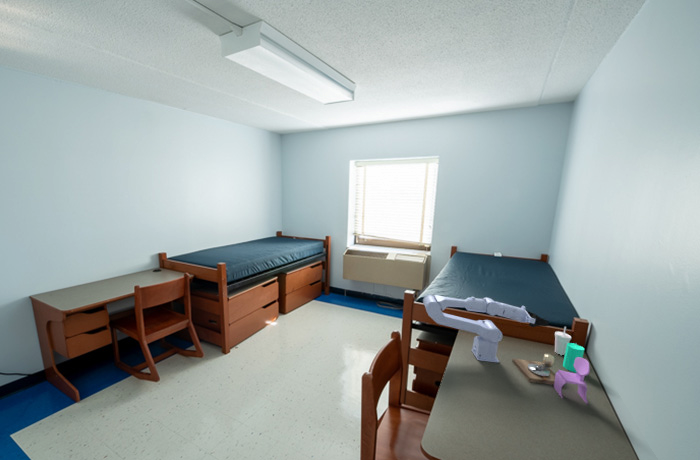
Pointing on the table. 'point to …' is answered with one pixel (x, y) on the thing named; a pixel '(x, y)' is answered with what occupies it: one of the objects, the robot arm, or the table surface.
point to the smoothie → (561, 342)
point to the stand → (529, 375)
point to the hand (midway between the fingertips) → (542, 320)
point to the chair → (574, 377)
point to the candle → (572, 356)
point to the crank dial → (542, 366)
